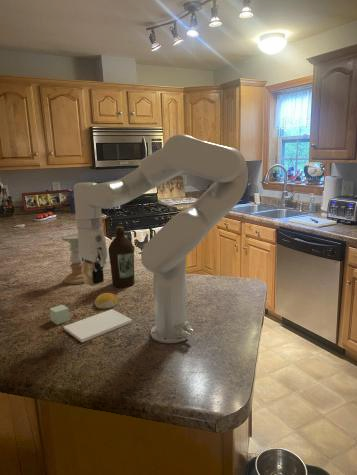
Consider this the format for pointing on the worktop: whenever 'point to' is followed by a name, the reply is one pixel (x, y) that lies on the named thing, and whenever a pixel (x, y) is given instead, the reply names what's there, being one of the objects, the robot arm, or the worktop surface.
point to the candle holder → (74, 261)
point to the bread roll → (106, 300)
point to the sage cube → (59, 314)
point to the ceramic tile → (97, 325)
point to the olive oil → (121, 260)
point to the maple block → (89, 272)
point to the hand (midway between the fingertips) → (94, 280)
